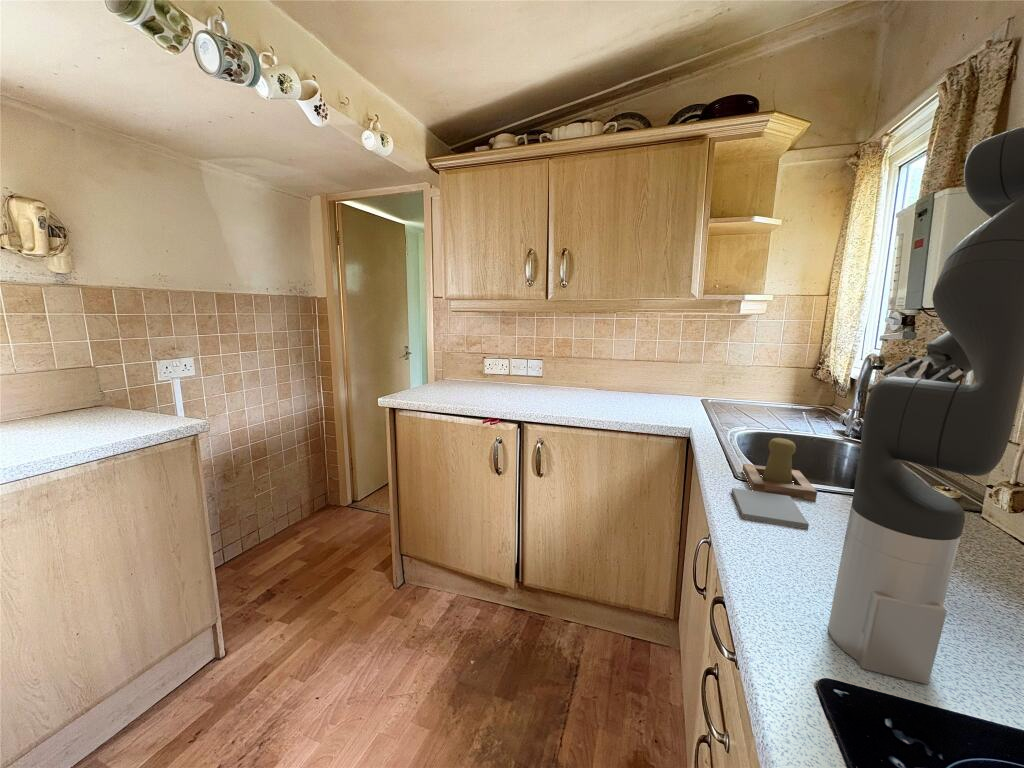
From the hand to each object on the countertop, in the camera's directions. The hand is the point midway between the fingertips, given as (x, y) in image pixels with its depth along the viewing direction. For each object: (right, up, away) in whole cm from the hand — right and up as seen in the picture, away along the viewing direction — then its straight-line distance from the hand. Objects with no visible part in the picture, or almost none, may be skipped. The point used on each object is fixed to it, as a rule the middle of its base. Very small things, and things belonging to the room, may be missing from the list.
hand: (881, 399), depth 81 cm
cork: (-11, -21, +15) cm, 28 cm away
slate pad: (-20, -23, +4) cm, 30 cm away
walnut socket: (-11, -20, +15) cm, 28 cm away
